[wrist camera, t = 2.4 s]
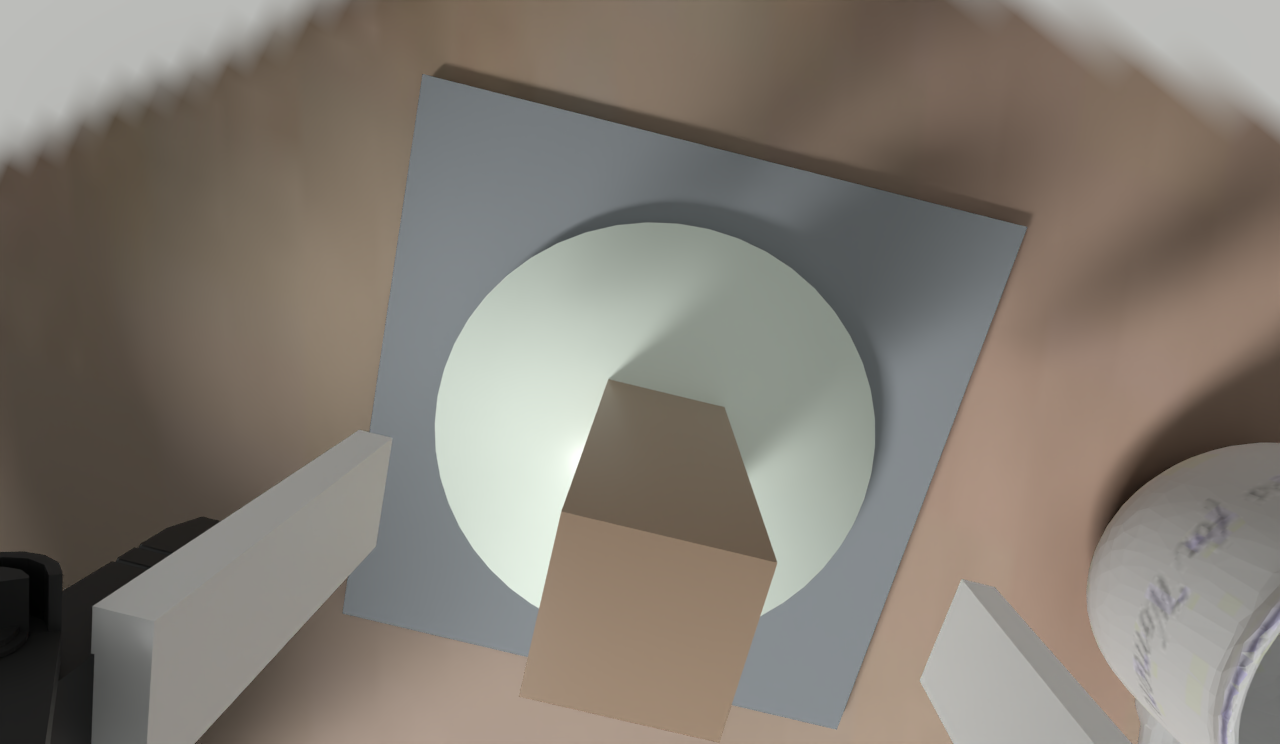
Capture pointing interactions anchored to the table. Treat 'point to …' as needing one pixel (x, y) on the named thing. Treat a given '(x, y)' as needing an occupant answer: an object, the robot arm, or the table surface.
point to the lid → (653, 460)
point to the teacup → (1196, 599)
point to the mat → (696, 196)
